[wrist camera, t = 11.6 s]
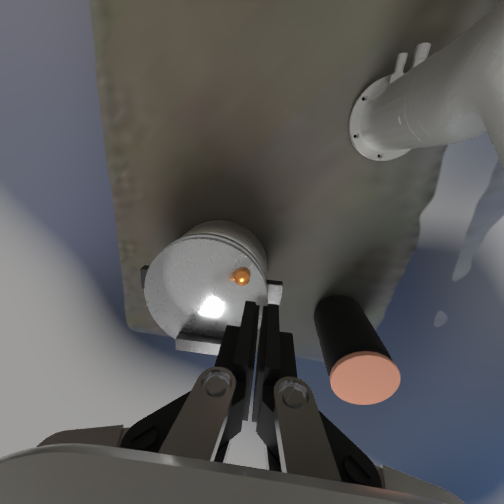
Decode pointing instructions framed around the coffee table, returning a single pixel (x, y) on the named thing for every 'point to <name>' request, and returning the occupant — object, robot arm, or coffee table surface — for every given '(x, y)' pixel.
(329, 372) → the coffee jar
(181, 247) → the cooker lid
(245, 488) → the robot arm
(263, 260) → the cooker pot
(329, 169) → the coffee table surface
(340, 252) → the coffee table surface
